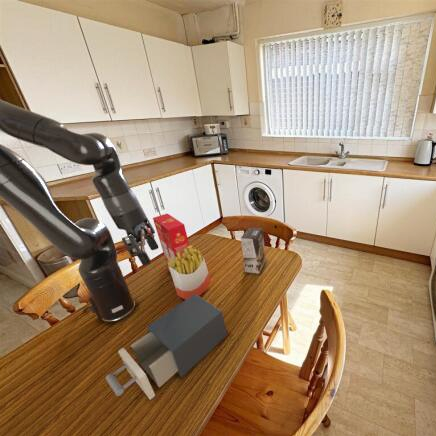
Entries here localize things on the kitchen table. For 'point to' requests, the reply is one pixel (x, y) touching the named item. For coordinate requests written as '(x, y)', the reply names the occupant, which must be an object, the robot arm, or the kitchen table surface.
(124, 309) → the robot arm
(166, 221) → the food packaging
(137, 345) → the drawer
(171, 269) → the french fries container
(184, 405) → the kitchen table surface
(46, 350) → the kitchen table surface
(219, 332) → the cabinet
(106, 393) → the kitchen table surface
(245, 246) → the coffee box
